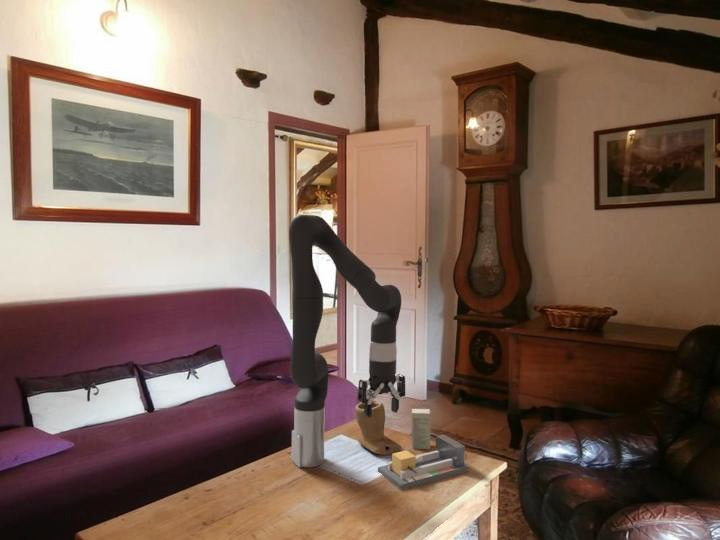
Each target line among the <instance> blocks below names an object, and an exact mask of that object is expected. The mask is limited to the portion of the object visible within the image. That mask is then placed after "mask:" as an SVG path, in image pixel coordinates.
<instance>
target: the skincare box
mask: <svg viewBox="0 0 720 540" xmlns="http://www.w3.org/2000/svg"><path fill="white" fill-rule="evenodd" d="M411 449H413V450H414V449H415V450H431V409H430V408H411Z"/></svg>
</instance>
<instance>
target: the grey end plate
mask: <svg viewBox="0 0 720 540" xmlns="http://www.w3.org/2000/svg"><path fill="white" fill-rule="evenodd" d="M465 448H466V446H465V444H462V443H460V442H458V441H456V440H455V439H453V438H452V437H449V436H447V435H446V434H439V435H436V437H435V451H439V457H440V458H442V459H443V460H446V459H452V465H453V466H454V467H456V468H457V467H461V466H464V465H465V456H466V455H465V453H466V451H465V450H466V449H465Z"/></svg>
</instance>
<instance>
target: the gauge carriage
mask: <svg viewBox="0 0 720 540" xmlns="http://www.w3.org/2000/svg"><path fill="white" fill-rule="evenodd" d="M423 460H424V459H423V456H418V457H416V455H414V454H413V453H411V451H410V452H409V451H408V450H407V449H406V450H402V451H401V450H400V451H397V452H395V453H392V454H391V462H392V470H393V471H394V472H396V473H397V474H398V475H400V471H404V470H408V469H410V470H411V471H413V472H414V473H417V472H416V471H415V470H414V469H412V468H415V463H418V462H422V461H423Z"/></svg>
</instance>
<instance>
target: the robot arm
mask: <svg viewBox="0 0 720 540" xmlns="http://www.w3.org/2000/svg"><path fill="white" fill-rule="evenodd" d="M288 240H289V248H290V250H289V251H290V258H291V259H290V260H291V261H290V262H291V273H292V274H291V279H292V281H291V283H292V285H291V286H292V295H291V304H292V305H291V309H292V341H291V342H292V344H291V353H290V354H291V355H290V363H289V364H290V365H289V368H290V369H289V374H290V379H291V380H292V382H293V384H294V385H295V386H296V387H298V388H299V389H298V392H297V394H296V396H295V397H294V403H293V404H294V405H293V406H294V407H293V408H294V409H293V411H294V415H293V416H294V418H293V421H294V422H293V423H294V424H293V425H294V427H293V429H292V430H291V461H292V462H293V463H294V464H295V465H296V466H297V467H298V468H313V467H319V466H321V465H323V463H324V462H325V414H326V412H325V408H326V407H325V406H326V404H325V403H326V399H327V397H328V387H329V386H328V385H329V365H328V362H327V360H326V358H325V357H324V356H323V355H322V354H321V353H318V352H316V339H317V335H318V331H319V329H320V326H321V322H322V318H323V313H324V290H323V285H322V283H321V280H320V278H319V276H318V273H317V272H316V270H315V269H316V268H315V266H314V260H313V247H317V248H318V249H320V250H322V251H323V252H324V253H325V254H327V255H328V256H329V257H330V259H331V260H332V262H333V264H334V266H335V268H336V270H337V272H339V274H340V276H341V277H342V278H343V279H344V280H345V281H346V282H347V283H348V284H349V285H351V286H352V287H353V288H354V289H355V290H356V292H357V293H358V294H359V296H360V298H361V299H362V301H363V302H364V304H365V305H366V306H367V307H368V308H370V309H371V310H372V311H374V312H375V313H377V314H376V315H377V316H376V318H375V319H373V321H372V322H371V324H370V325H371V326H370V343H369V344H370V345H369V353H368V354H369V356H368V357H369V358H368V360H369V361H368V362H369V363H368V364H369V365H368V374H369V378H368V380H367V379H366V380H365V379H364V380H363V379H359V380H358V388H357V389H358V390H357V401H358V402H360V403H364V414H365V415H366V416H367V417H368V418H370V417H372V404H371V403H372V401H375V399H376V398H377V397H378V395H383V394H390V395H391V400H390V401H391V403H390V404H391V405H390V406H391V407H390V408H391V409H390V410H391V412H393V413H398V411H399V410H400V409H399V408H400V399H401V398H402V397H406V376H405V375H403V374H400V373H398V374H397V357H398V356H397V324H398V321H399V317H400V312H401V308H402V294H401V292H400V290H399V288H398V287H397V286H396V285H393V284H385V285H381V284H380V283H378V282H377V280H376V276H377V275H376V274H375V272H374V271H373V269H372V268H370V267H369V266H368V265H367V264H365V262H364V261H363V260H361V259H360V258H359V257H358V256H357V255H356V254H355V253H354V252H352V251H351V249H350V248H349V247H348V246H347V245H346V244H345V243H344V242H343V241H342V239H340V236H338V235H337V234H336V232H335V231H334V230H333V228H332V227H331V226H330V225H329V224H328V222H327V221H326V220H325V219H324V218H323V217H322V216H320V215H315V214H296V216H295V215H294V217H293V218H292V219H291V221H290V223H289V227H288ZM395 384H396V388H395V386H394V385H395ZM367 389H368V390H367Z"/></svg>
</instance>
